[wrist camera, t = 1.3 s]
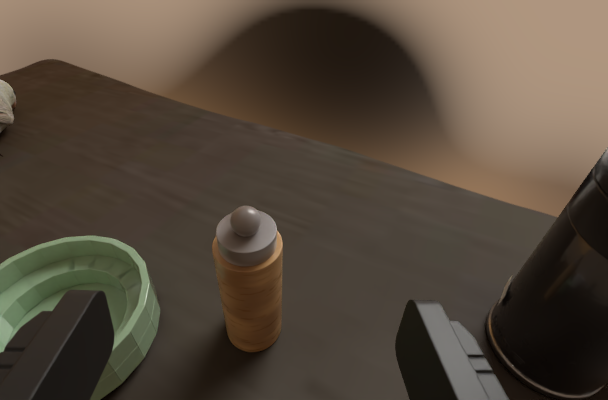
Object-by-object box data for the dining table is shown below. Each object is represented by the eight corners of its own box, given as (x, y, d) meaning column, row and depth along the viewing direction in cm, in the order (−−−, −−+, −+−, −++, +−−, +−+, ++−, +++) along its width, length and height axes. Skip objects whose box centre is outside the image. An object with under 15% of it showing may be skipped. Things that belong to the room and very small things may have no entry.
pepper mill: (278, 300, 35) (278, 183, 25) (284, 348, 31) (287, 234, 22) (227, 305, 34) (207, 187, 24) (226, 355, 30) (204, 241, 21)
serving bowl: (170, 264, 37) (159, 230, 34) (148, 411, 27) (129, 384, 24) (20, 277, 35) (-7, 242, 32) (-64, 442, 25) (-116, 416, 22)
